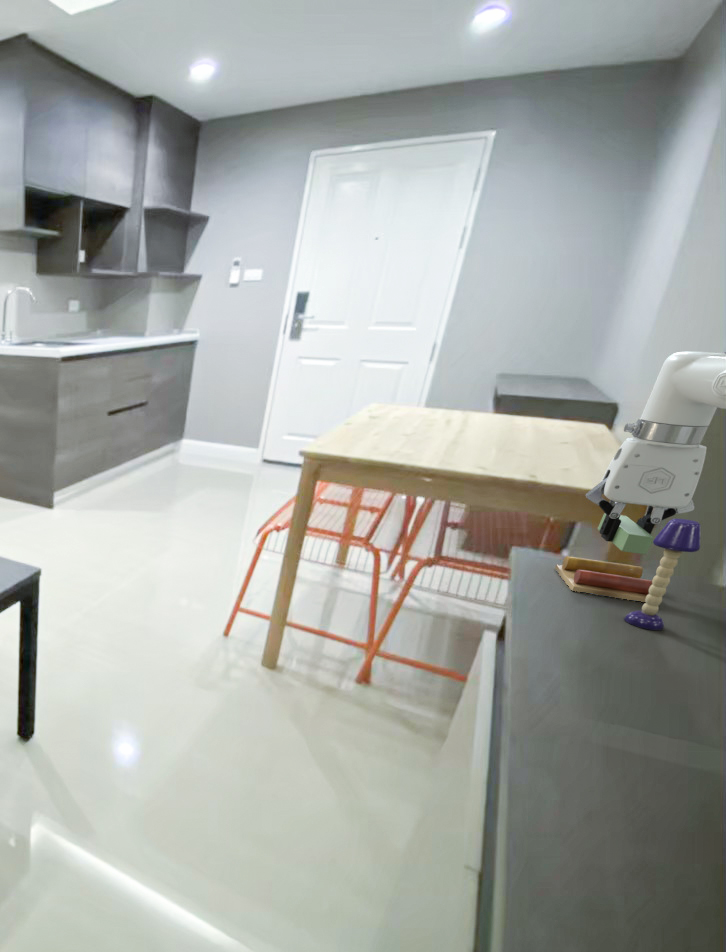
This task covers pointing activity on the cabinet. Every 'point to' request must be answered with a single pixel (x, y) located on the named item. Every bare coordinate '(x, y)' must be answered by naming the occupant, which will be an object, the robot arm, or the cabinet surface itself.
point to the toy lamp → (666, 569)
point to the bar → (630, 536)
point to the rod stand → (604, 578)
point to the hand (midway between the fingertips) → (621, 540)
